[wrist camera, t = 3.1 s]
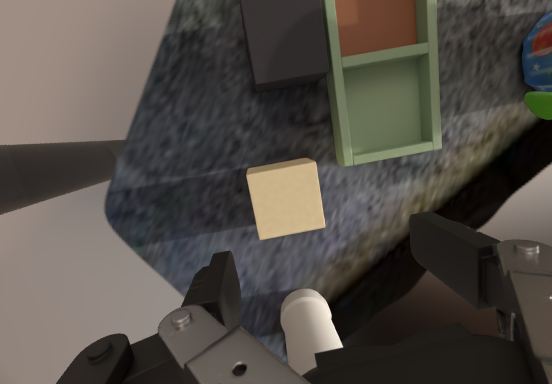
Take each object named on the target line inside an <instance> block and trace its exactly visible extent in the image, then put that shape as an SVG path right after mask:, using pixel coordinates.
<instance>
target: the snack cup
mask: <svg viewBox="0 0 552 384" xmlns="http://www.w3.org/2000/svg"><path fill="white" fill-rule="evenodd" d="M522 65H523V70H524V76H525V79H524V81H525V82H526V83H527V84H528V85H529V86H532V87H533V88H535V89H536V90H538V91H539V92H538V91H534V92H528V93H527V94H526V95H525V103H526V105H527V106H528V107H529V109H530V110H531V111H532V112H533V113H534V114H535V115H536V116H538V117H540V118H543V119H547V120H550V119H552V10H551V11H550V12H548V13H547V14H545V15H544V16H543V17H542V18H541V19H540V20H539V21H538V22H537V23H536V25H535V26H534V27H533V29H532V30H531V32H530V33H529V34H528V35H527V36H526V38H525V40H524V41H523V52H522Z"/></svg>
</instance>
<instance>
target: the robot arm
mask: <svg viewBox="0 0 552 384" xmlns="http://www.w3.org/2000/svg"><path fill="white" fill-rule="evenodd" d="M409 228H410V242H411V251H412V254H413V256H414V258H415V259H416V261H417V262H418V263H420V264H421V265H422V266H423V267H425V268H426V269H427V270H428V271H430V272H431V273H432V274H433V275H435V276H436V277H437V278H438V279H440V280H441V281H442V282H443V283H444V284H446V285H447V286H448V287H449V288H451V289H452V290H453V291H455V292H456V293H457V294H458V295H459V296H461V297H462V298H463V299H464V300H466V301H467V302H468V303H469V304H470V305H472V306H473V307H474V308H476V309H477V310H482V309H487V308H492V307H496V318H497V325H498V330H499V336H500V338H499V337H494V336H488V335H478V334H471V333H470V332H469V331H468V330H467V329H466V328H465V327H464V326H463V325H462V324H460V323H456V324H451V325H446V326H442V327H437V328H432V329H428V330H424V331H422V332H420V333H418V334H416V335H414V336H412V337H410V338H408V339H406V340H403V341H401V342H399V343H397V344H395V345H392V346H347V347H342V348H337V349H333V350H328V351H323V352H318V353H314V355H315V360H316V366H317V367H315V368H313V369H311V370H309V371H308V372H306V373H305V374H303V375H302V376H301V375H300V374H298V373H297V372H296V371H295V370H294V369H292V368H291V367H290V366H289V365H287V364H286V363H285V362H284V361H283V360H281V359H280V358H279V357H278V356H276V355H275V354H274V353H273V352H272V351H270V350H269V349H268V348H267V347H265V346H264V345H263V344H262V343H261V342H259V341H258V340H257V339H256V338H254V337H253V336H252V335H251V334H250V333H248V332H247V331H246V330H245V329H243V328H242V327H240V326H238V319H239V310H240V300H241V290H240V283H239V279H238V275H237V271H236V267H235V262H234V258H233V255H232V252H231V251H225V252H220V253H215V254H213V256H212V259H211V262H210V265H209V266H206V267H203V268H202V269H201V270H199V271H198V272H197V273H196V274H195V276H194V279H193V281H192V284H191V285H190V288H189V290H188V292H187V294H186V297H185V299H184V301H183V303H182V306H181V308H178V309H176V310H174V311H172V312H171V313H169V314H168V315H167V316H166V317H165V318H164V319H163V320H162V321H161V322H160V324H159V327H158V333H157V334H155V335H153V336H151V337H148V338H146V339H143V340H141V341H139V342H136V343H134V344H131V345H130V343H129V340H128V337H127V336H126V335H124V334H113V335H109V336H106V337H103V338H101V339H99V340H97V341H96V342H94V343H92V344H91V345H89V346H88V347H86V348H85V349H84V350H83V351H82V352H80V353H79V354H78V356H77V357H76V358H75V359H74V360H73V362H72V363H71V364H70V366H69V367H68V368H67V370H66V371H65V372H64V374H63V375H62V376H61V378H60V379H59V380H58V382H57V383H56V384H552V247H550V246H548V245H545V244H542V243H539V242H534V241H529V240H506V241H502V242H501V241H499V240H497V239H494V238H492V237H490V236H488V235H485V234H483V233H481V232H477V231H476V230H474V229H472V228H468V227H467V226H465V225H463V224H461V223H459V222H455V221H450V220H448V219H446V218H443V217H441V216H439V215H437V214H435V213H432V212H430V211H427V212H422V213H417V214H412V215H411V216H410V218H409Z"/></svg>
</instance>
